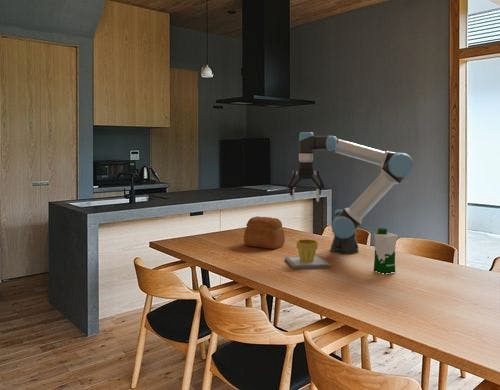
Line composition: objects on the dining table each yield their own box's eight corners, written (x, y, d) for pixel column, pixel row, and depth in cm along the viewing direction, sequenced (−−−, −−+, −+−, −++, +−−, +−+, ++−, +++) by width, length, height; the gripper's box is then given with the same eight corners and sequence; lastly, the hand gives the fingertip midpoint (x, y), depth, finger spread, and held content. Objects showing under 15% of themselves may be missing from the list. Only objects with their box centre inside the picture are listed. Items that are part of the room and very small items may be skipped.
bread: (273, 251, 249) (273, 221, 247) (241, 246, 260) (240, 217, 259) (287, 244, 264) (287, 216, 262) (256, 240, 275) (256, 213, 273)
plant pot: (316, 263, 217) (317, 244, 216) (295, 262, 219) (295, 243, 218) (317, 258, 227) (318, 239, 226) (297, 257, 229) (297, 238, 228)
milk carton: (384, 268, 215) (385, 227, 212) (398, 273, 207) (400, 230, 204) (370, 270, 211) (371, 229, 208) (384, 275, 203) (386, 232, 200)
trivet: (318, 258, 233) (318, 255, 233) (329, 267, 216) (329, 264, 215) (285, 259, 231) (285, 256, 230) (293, 269, 213) (293, 266, 213)
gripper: (326, 161, 242) (325, 200, 244) (281, 161, 238) (280, 200, 241) (330, 161, 235) (330, 201, 237) (284, 162, 231) (283, 202, 234)
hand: (305, 201), depth 239 cm, fingers open, 13 cm apart
